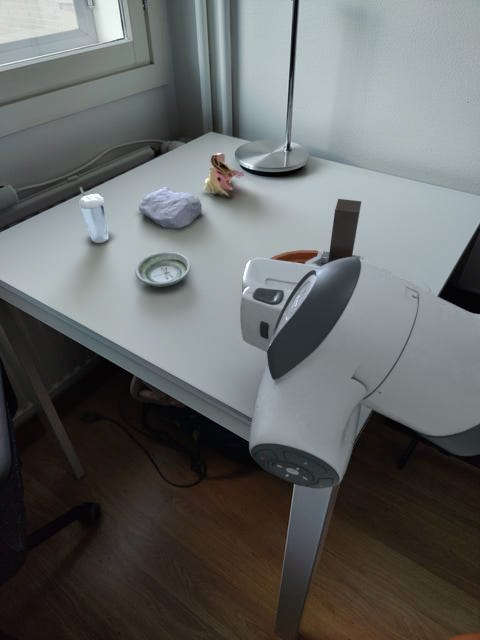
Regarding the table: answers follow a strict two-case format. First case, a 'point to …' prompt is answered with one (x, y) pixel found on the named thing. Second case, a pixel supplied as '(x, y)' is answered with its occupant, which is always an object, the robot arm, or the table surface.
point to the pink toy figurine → (220, 175)
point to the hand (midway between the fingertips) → (340, 257)
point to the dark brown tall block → (344, 229)
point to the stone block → (171, 208)
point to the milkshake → (94, 216)
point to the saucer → (163, 269)
